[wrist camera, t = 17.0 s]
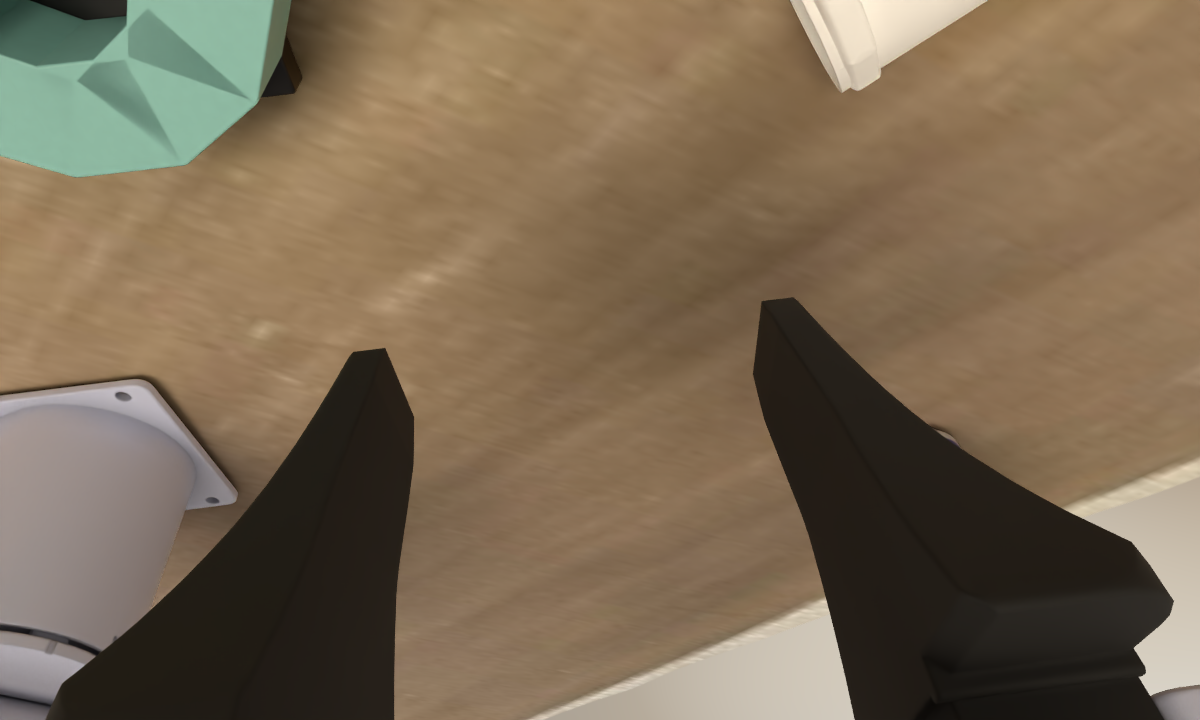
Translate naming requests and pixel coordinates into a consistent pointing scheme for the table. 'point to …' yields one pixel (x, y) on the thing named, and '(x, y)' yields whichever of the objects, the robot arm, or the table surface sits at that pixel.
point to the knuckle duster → (872, 32)
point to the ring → (131, 81)
